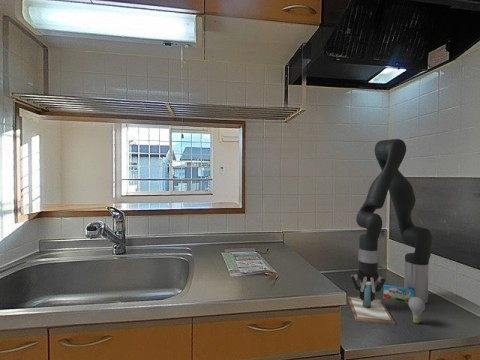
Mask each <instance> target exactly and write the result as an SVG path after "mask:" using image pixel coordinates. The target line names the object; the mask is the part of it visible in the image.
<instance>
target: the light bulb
mask: <svg viewBox="0 0 480 360" xmlns="http://www.w3.org/2000/svg"><path fill="white" fill-rule="evenodd" d="M408 307H409V309H410V311H411V312H412V318H413V319H412V321H413V323H414V324H420V318H421V315H422V313H423V312H424V311H425V308H426V303H424V301H423V300H422V299H420V298H418V297H412V298H410V300H409V302H408Z"/></svg>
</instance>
